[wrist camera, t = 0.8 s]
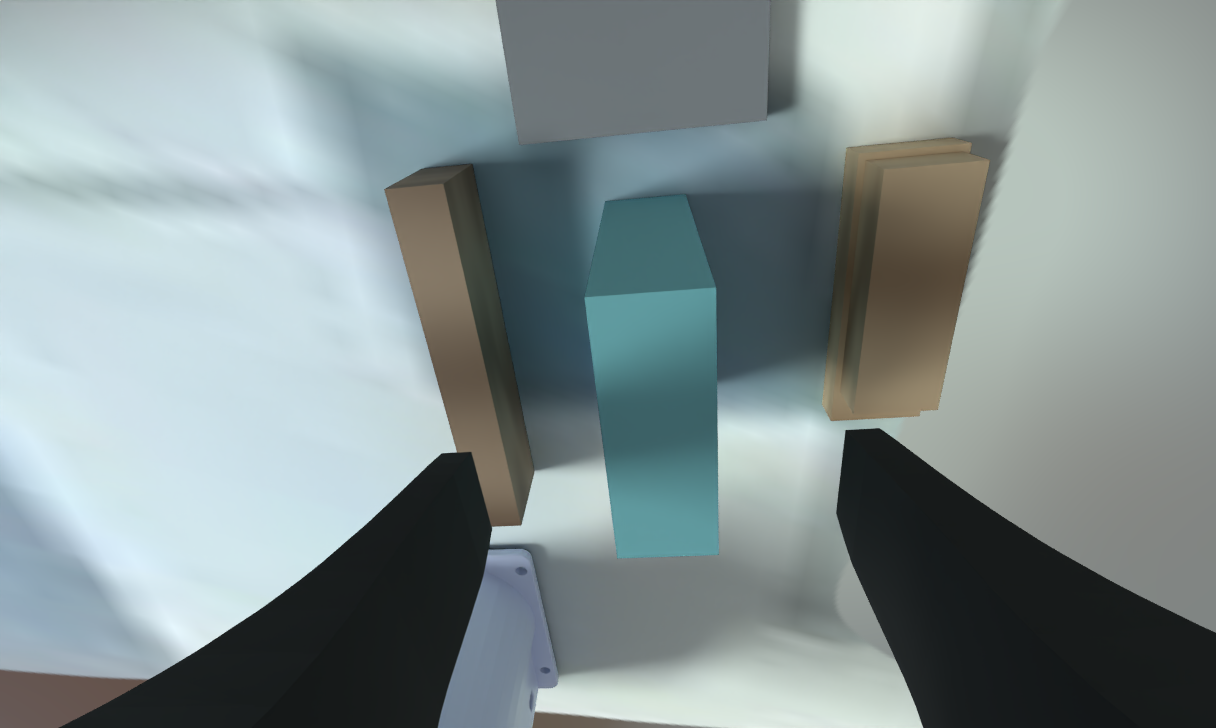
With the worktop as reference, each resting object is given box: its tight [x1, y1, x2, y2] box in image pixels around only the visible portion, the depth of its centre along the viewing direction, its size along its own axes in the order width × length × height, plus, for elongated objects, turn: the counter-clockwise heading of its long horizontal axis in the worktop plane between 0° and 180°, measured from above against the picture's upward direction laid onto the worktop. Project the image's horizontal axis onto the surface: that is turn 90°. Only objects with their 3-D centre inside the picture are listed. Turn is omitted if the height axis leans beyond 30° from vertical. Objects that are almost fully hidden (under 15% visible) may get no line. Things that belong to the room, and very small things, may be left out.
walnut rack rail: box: [384, 164, 534, 527], centre depth 19 cm, size 12×2×3 cm, turn 6°
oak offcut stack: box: [822, 138, 990, 421], centre depth 18 cm, size 9×3×3 cm, turn 6°
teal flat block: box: [584, 194, 719, 558], centre depth 16 cm, size 7×2×8 cm, turn 6°
